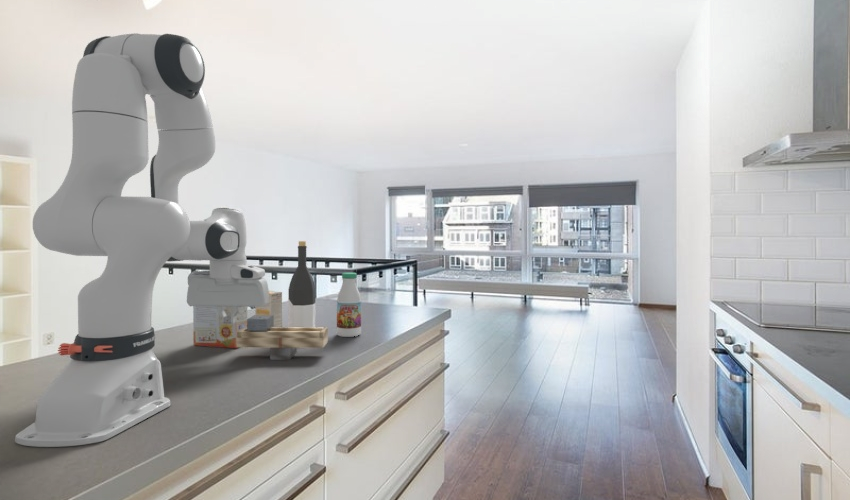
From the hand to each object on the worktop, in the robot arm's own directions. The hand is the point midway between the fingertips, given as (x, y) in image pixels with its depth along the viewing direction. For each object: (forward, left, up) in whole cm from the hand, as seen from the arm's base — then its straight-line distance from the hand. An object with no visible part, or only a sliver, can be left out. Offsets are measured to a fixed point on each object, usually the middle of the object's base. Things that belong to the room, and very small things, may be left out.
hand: (228, 323), depth 115 cm
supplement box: (+29, -1, -9) cm, 30 cm away
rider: (0, -8, -3) cm, 9 cm away
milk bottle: (+24, -28, -9) cm, 38 cm away
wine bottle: (+20, -14, -9) cm, 26 cm away
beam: (0, -14, -9) cm, 17 cm away
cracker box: (+11, +7, -9) cm, 16 cm away
